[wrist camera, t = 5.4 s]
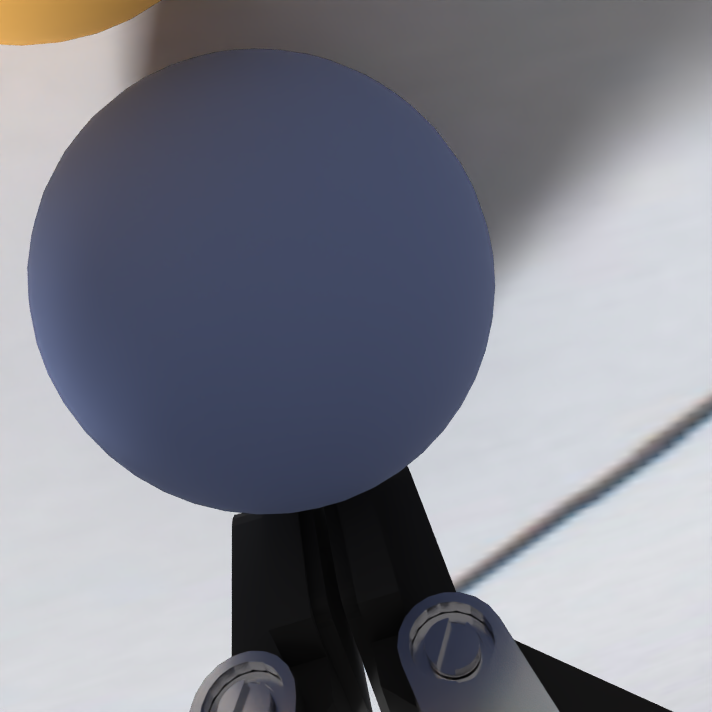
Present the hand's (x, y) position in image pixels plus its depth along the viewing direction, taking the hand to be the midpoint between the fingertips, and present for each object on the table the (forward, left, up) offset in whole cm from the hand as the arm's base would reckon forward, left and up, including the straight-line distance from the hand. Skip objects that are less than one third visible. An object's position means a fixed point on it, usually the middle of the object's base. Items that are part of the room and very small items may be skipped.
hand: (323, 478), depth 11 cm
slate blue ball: (+4, +2, +1) cm, 5 cm away
